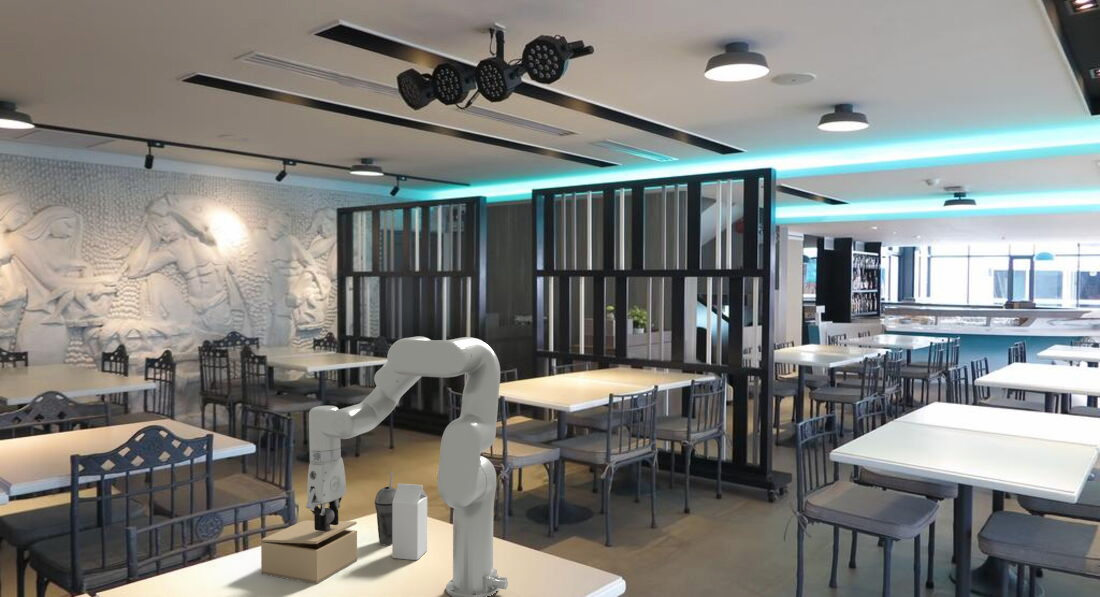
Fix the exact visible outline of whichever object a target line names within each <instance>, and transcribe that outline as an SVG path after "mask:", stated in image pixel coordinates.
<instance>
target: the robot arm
mask: <svg viewBox="0 0 1100 597" xmlns="http://www.w3.org/2000/svg"><path fill="white" fill-rule="evenodd" d="M386 358H387V361H386V362H385V363H384V365H382V367H380V368H379V370H377V371H376V372H375V374H374V383H375V385H376V386H375V388H373V390H372V391H371V393H370V394H369V393H368V395H367V396H366V397H365V398H364V399H363V400H362V401H361V402H359V403H357V404H353V405H351V406H350V405H349V406H346V407H343V408H340V409H339V407H337V406H336V405H320V406H314V407H312V408H311V409H310V410H309V413H308V428H309V430H308V431H309V432H308V435H309V437H308V440H309V464H308V473H307V486H306V487H307V488H306V492H307V493H306V494H307V495H306V496H307V502H306V504H305V508H306V509H308V510H310V511H311V513H312V515H313V516H314V518H313V521H314V524H315V530H318V531H326V515H324V513H325V508H326V505H327V506H328V507H327V508H330V509H332V510H333V512H334V515H335V516H334V520H333V521H332V522H331V523H330V525H338V521H339V509H340V507H341V501H342V499H343V497H344V496H345V495H346V493H347V484H346V483H347V480H346V470H345V464H344V461H343V460H344V459H343V457H342V456H341V455H342V454H341V452H342V449H341V447H342V446H341V445H342V444H341V440H347V439H351V438H354V437H357V436H359V435H362V434H366V433H368V432H371V431H372V430H374V429H375V428H376V427H378V425H380V424H381V423H382V421H384V420H385V419H386V418H387V417H388V416H389V415H390V414H391V413H392V411H394V410H395V408H396V407H397V405H398V404H399V401H400V400H401V398H402V397H403V395H404V394H406V392H407V391H409V390H410V388H412V387H413V386H414V385H415V384H416V383H417V382H418V381H419V380H420V379H421V378H422V377H429V378H454V377H458V376H461V375H464V374H465V375H466V380H465V384H464V388H463V391H462V400H461V410H460V416H459V417H458V418H456V419H454V420H452V421H451V422H450V423H449V424H447V426H446V427H445V429H444V431H443V434H442V437H441V442H440V450H439V460H438V471H437V472H438V473H437V491H438V494H439V495H438V496H439V497H440V498H441V500H442V501H443V503H444V504H445V505H447V506H448V507H450V508H453V514H452V520H453V521H452V579H449V581H448V582H447V584H446V586H445V588H446V589H445V590H446V593H447V595H449V596H451V597H486V596H490V595H492V594H494V593H495V592H496V591H498V589H499V590H500V589H501V590H504V591H506V590H507V588H508V587H509V582H508V578H507V577H506V576H499V574H498V569H497V568H494V506H495V504H494V503H495V498H496V496H495V495H496V488H497V471H496V468H495V467H494V464H493V463H492V462H491V460H489V459H488V458H487V457H485V456H482V455H481V454H482V453H484V452H485V451H487V450H488V449H490V448H491V447H492V445H494V443H495V440H496V433H497V420H498V413H499V412H498V411H499V410H498V409H499V408H498V407H499V396H500V395H499V393H500V387H501V386H500V384H501V366H500V361H499V359H498V356H497V354H496V352H495V351H494V350H493V349H492V347H491V346H490V345H489V344H487V342H484V341H483V340H482V339H479V338H476V337H470V336H465V337H458V338H454V339H453V338H452V339H445V340H444V339H441V340H440V339H438V340H436V339H435V340H434V339H430V338H429V337H425V336H418V335H417V336H412V337H404V338H399V339H398V340H396V341H395V342H394V343H393V344H392V345H391V346H390V348H389V350H388V351H387V356H386ZM319 506H320V507H319ZM498 592H499V591H498ZM494 595H495V594H494ZM492 596H493V595H492ZM490 597H491V596H490Z"/></svg>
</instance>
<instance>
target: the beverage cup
mask: <svg viewBox="0 0 1100 597" xmlns="http://www.w3.org/2000/svg"><path fill="white" fill-rule="evenodd" d="M393 475H394V471H391V472H390V477H389V478H390V479H389V486H384V487H381V489H379V490H378V491H377V493H376V496H375V498H374V507H375V510H376V512H375V513H376V522H377V533H378V540H379V544H380V545H382V546H392V502H393V499H394V496H395V493H396V491H397V488H394V487H393V486H392V483H393Z"/></svg>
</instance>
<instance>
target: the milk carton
mask: <svg viewBox="0 0 1100 597" xmlns="http://www.w3.org/2000/svg"><path fill="white" fill-rule="evenodd" d="M423 488H424V486H423V484H412V483H411V484H410V483H397V488H396V490H397V491H396V493H395V496H394V499H393V502H392V544H391V546H392V552H391V554H392V556H391V557H392V559H401V560H412V561H418V560H419V559H420V558H421V557H422V556H423V555H424V554H425V553H427V551H428V495H427V493H426V492H425V490H424V489H423Z"/></svg>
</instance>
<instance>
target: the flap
mask: <svg viewBox="0 0 1100 597" xmlns="http://www.w3.org/2000/svg"><path fill="white" fill-rule="evenodd" d="M324 515H326V531H318V530H315V524H314V520H309V519H308V520H302V521H300V522H297V523H295V524H293V525H291V526H288V527H286V528H283V529H281V530H279V531H277V532H275V533H272V534H270V535H268V536H266V537H263V538H261V539H260V542H280V543H308V544H317V543H319V542H321V541H323V540H325V539H327V538H329V537H331V536H333V535H335V534H337V533H339V532H341V531H343V530H345V529H350V527H351V528H352V527H353V526H355V525H357V524H358V523H357V521H353V520H352V521H349V520H348V521H346V520H345V521H344V520H342V521H341V520H338V525H330V523H331V522H332V521H333V520H334V516H335V515H334V512H333V510H332V509H330V508H329V507H325V513H324Z"/></svg>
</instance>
